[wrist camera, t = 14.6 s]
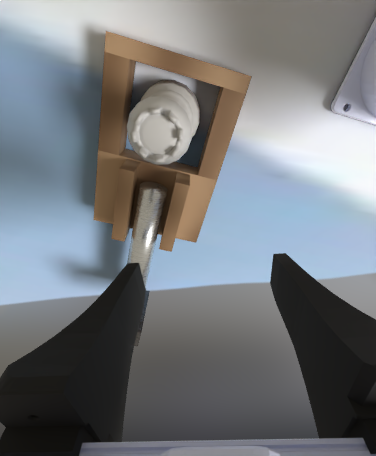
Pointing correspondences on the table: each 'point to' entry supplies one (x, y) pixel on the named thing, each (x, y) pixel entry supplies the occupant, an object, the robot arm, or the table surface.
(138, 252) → the grey metal hammer
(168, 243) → the wooden frame
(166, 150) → the rook chess piece
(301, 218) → the table surface
